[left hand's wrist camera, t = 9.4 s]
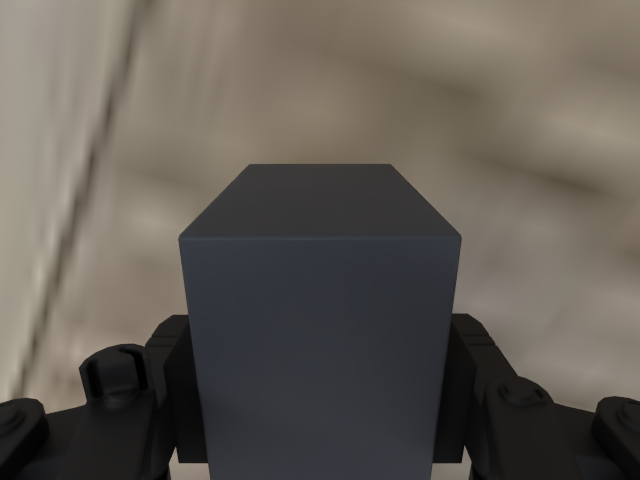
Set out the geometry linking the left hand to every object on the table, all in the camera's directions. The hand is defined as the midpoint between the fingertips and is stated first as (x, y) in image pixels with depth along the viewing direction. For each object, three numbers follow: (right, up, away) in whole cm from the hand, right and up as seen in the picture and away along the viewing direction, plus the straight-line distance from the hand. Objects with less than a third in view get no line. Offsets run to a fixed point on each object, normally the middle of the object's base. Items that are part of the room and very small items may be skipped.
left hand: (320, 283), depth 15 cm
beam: (0, -22, +9) cm, 24 cm away
